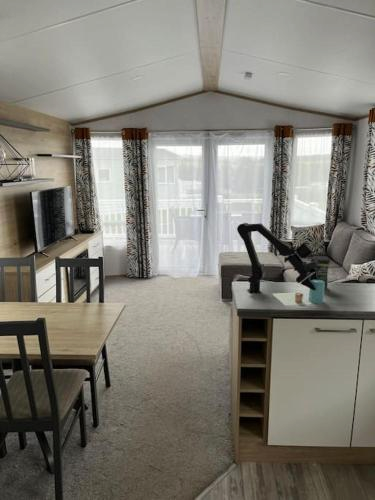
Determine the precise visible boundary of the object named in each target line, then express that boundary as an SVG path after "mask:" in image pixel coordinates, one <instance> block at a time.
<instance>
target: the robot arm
mask: <svg viewBox="0 0 375 500" xmlns="http://www.w3.org/2000/svg"><path fill="white" fill-rule="evenodd" d="M236 231H237V233H238V234H239V237H240V238H241V239H242V240H243V243H244V246H245V249H246V251H247V254H248V258H249V261H250V265H251V275H250V277H248V278H247V280H248V283H249V288H248V289H247V292H248V293H250V294H260V293H261V294H262V293H263V292H262V291H261V280H262V279H263V278H264V277H265V276H266V272H267V269H266V268H265V264H264V263H263V264H262V263H260V261H259V257H258V254H257V252H256V251H257V250H256V248H255V245H254V242H253V239H252V232H257V233H258V234H260V235H262V237H263V238H265V239H266V240H267V241H268V242H269V243H271V244H272V245H273V246H274V247H275V249H276V251H277V252H278V253H279V254H280V255H281V256H283V257H284V260H283V262H284V263H287V262H289V264H290V265H291V266H292V267H293V271H296V272H297V274H299V275H298V276H297V277H296V278H295V282H297V284H299V285H302V286H305V287H306V288H308V289H309V290H310V289H312V290H316V288H315V287H314V285H313V284H312V282H311V281H310V280H319V279H318V277H317V272H318V271H317V270H318V269H317V268H316V267H318V266H319V264H318V263H319V262H318V261H317V260H316V259H313V258H312V259H311V261H310V262H307V261H303V259H306V258H308V257H309V256H310V255H312V253H314V250H313V247H311V245H309V244H308V243H306V242H305V241H303V242H302V244H300V245H299V246H298V247H296V246H292V245H291V244H289V243H288V242H286V241H284V240H282V239H280V238H278V236H276V234H274V233H273V232H272V231H270V230H269V229H268V228H267V227H265V225H263V223H247V222H242V223H241V224H239V225H238V226H237V228H236ZM315 271H317V272H315Z"/></svg>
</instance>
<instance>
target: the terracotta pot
mask: <svg viewBox="0 0 375 500" xmlns="http://www.w3.org/2000/svg"><path fill="white" fill-rule="evenodd" d="M294 293H295V302H297V303H302V298H304V294H303V293H300V292H294Z"/></svg>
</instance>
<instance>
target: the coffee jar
mask: <svg viewBox="0 0 375 500" xmlns="http://www.w3.org/2000/svg"><path fill="white" fill-rule="evenodd" d="M312 259H316V260H317V261H318V262H319V263H318V264H319V266H318V267H316V268H317V269H318V270H317V271H318V272H317V271H315V272H317V277H318V279H319V280H322V281H324V283H325V288H324V290H325V289H327V288H328V272H329V266H330V257H328V256H322V255H321V256H319V255H317V256H312ZM310 281H311V280H310Z"/></svg>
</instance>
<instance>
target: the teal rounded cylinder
mask: <svg viewBox="0 0 375 500" xmlns="http://www.w3.org/2000/svg"><path fill="white" fill-rule="evenodd" d="M311 282H312V284H313V285H314V287H315V288H316V290H312V289H310V288H309V292H308V293H309V294H308V302H309V303H311V304H322V303H323V302H324V297H325V289H324V288H325V283H324V281H322V280H311Z"/></svg>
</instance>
